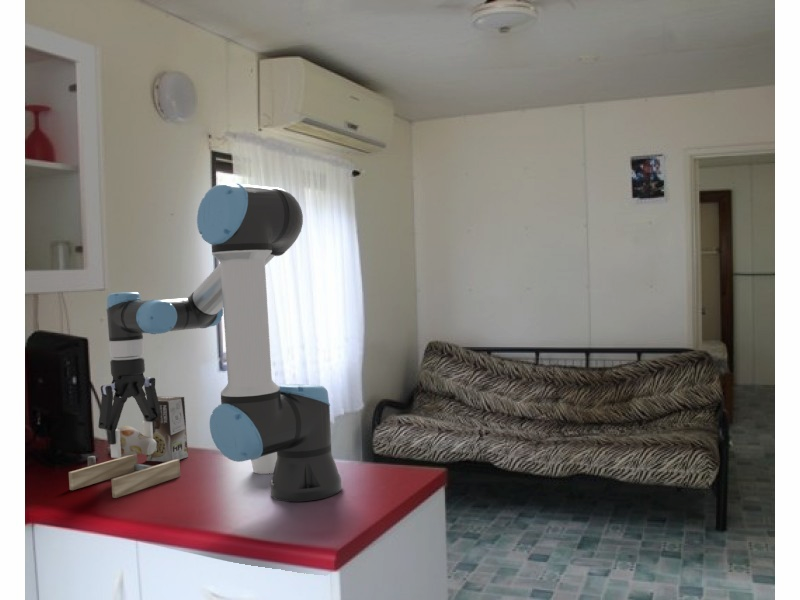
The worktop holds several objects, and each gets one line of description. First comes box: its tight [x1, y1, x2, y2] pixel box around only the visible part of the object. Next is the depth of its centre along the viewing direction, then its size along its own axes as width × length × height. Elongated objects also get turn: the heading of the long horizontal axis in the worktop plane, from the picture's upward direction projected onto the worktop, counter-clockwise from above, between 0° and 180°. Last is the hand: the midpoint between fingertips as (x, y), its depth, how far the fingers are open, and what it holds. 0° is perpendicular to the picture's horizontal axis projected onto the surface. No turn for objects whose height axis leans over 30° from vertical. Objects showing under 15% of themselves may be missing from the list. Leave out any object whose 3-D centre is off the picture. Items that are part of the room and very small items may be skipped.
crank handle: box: [87, 455, 97, 467], centre depth 180 cm, size 10×2×5 cm, turn 149°
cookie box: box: [142, 396, 189, 463], centre depth 192 cm, size 9×6×16 cm
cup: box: [250, 452, 277, 475], centre depth 176 cm, size 9×9×12 cm
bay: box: [68, 454, 181, 499], centre depth 171 cm, size 16×18×4 cm
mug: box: [117, 425, 157, 457], centre depth 173 cm, size 8×10×10 cm
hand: (132, 452), depth 173 cm, fingers closed on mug, 9 cm apart
